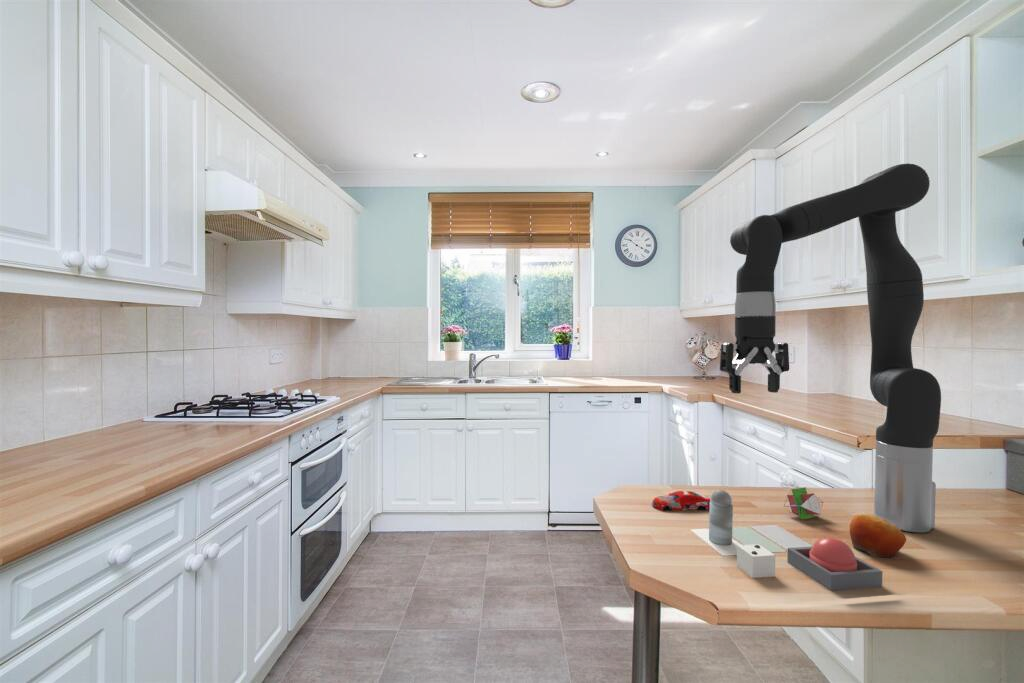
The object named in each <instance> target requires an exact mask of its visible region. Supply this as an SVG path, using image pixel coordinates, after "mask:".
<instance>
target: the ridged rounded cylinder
mask: <svg viewBox="0 0 1024 683" xmlns="http://www.w3.org/2000/svg"><path fill="white" fill-rule="evenodd" d="M732 503H733V502H732V497H731V495H730V494H729V492H727V491H726V490H723V489H717V490H714V491H713V492H712V493H711V496H710V510H708V512H709V514H708V517H709V518H708V520H709V521H708V523H709V525H708V529H709V540H710V541H711V542H712V543H715V544H718V545H724V546H728V545H731V544H732V538H733V537H732V527H733V518H734V516H733V513H734V512H733V511H734V505H733V504H732Z"/></svg>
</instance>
